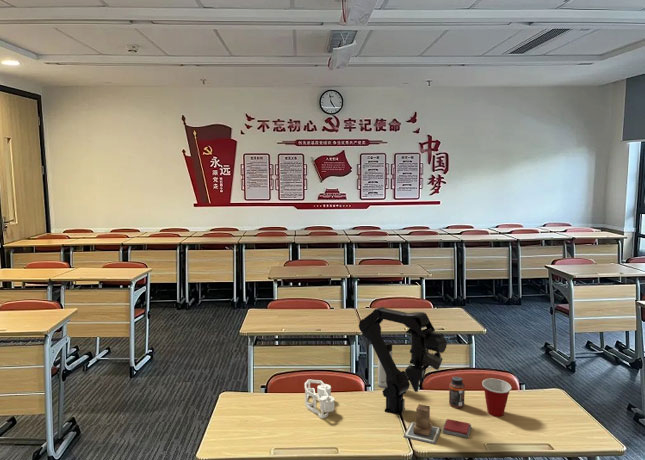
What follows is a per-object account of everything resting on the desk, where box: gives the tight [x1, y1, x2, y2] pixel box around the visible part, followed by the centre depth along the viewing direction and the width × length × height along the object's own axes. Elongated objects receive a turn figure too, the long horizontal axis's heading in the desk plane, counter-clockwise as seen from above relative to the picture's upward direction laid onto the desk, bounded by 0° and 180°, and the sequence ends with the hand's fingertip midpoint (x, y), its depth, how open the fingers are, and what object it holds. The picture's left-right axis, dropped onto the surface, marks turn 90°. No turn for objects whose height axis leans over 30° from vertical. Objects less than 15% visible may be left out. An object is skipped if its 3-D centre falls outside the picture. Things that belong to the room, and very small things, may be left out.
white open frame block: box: [304, 378, 335, 419], centre depth 185 cm, size 20×11×7 cm, turn 6°
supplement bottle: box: [448, 376, 466, 409], centre depth 186 cm, size 6×6×11 cm
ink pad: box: [441, 418, 472, 439], centre depth 167 cm, size 9×8×2 cm
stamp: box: [413, 403, 433, 437], centre depth 164 cm, size 6×6×9 cm
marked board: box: [403, 421, 442, 445], centre depth 165 cm, size 11×11×1 cm
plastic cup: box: [481, 377, 513, 418], centre depth 178 cm, size 11×11×12 cm
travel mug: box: [377, 341, 393, 390], centre depth 204 cm, size 6×7×20 cm
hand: (418, 386), depth 173 cm, fingers open, 9 cm apart
